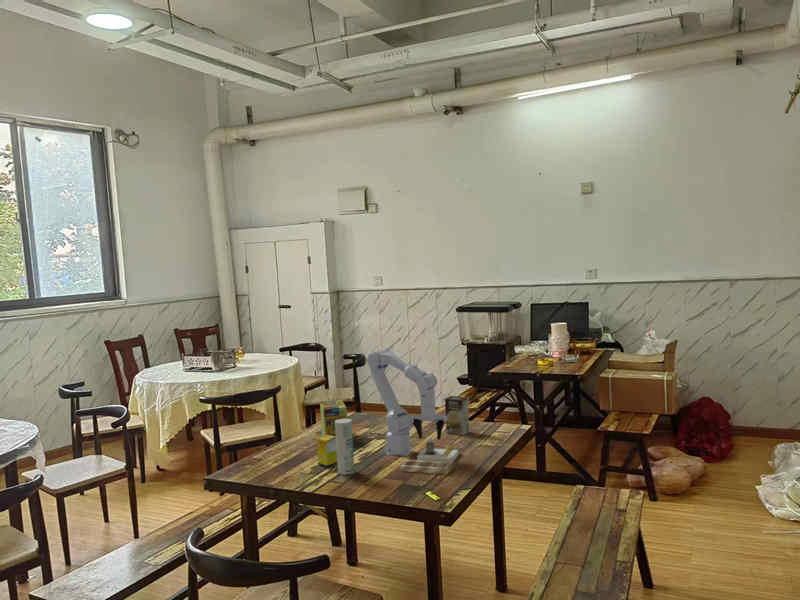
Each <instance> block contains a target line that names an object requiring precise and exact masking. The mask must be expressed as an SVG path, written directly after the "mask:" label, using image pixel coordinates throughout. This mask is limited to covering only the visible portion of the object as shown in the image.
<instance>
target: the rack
mask: <svg viewBox="0 0 800 600" xmlns="http://www.w3.org/2000/svg"><path fill="white" fill-rule="evenodd" d="M451 469H452V464H451V462H435V461H419V460H417V459H406V460H404V462H403V463H402V464H400V472H410V473H421V474H422V473H424V474H437V475H439V474H440V475H448V473H449V472H450V471H451Z"/></svg>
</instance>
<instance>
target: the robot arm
mask: <svg viewBox="0 0 800 600" xmlns="http://www.w3.org/2000/svg"><path fill="white" fill-rule="evenodd" d="M366 363H367V364H368V368H369V371H370V375H371V377H372V379H373V382H374V384H375V386H376V388H377V391H378V393H379V396H380V397H381V400H382V402H383V404H384V406H385V408H386V410H387V414H386V417H385V419H386V423H387V428H388V430H389V431H388V432H387V433H386V437H385V442H386V445H385V446H386V455H388V456H389V455H391V456H406V457H407V456H409V455H410V454H411V453H412V452H413V451H414V448H411V437H410V436H411V435H410V431H411V427H413V426H414V428H415V430H416V432H417V435H418V439H423V427H422V426H423V421H425V422H426V421H432V422H435V426H436V433H437V434H436V435H437V436H436V437H437V440H440V439H441V438H442V431H443V428H444V426H445V424H446V421H447V416H446V415H442V414H436V413H437V412H436V393H435V387H436V386H437V383H438V379H437V377H436V375H434V374H433V373H427V372H426V371H425V370H424V371H423V370H422V369H420V368H418V365H416V364H407V363H406V362H405V361H404V360H402V359H401V358H400V357H399V356H397V355H396V354H395V351H393V350H390V349H389V348H387V347H385V348H383V349H379V350H375V351H374V350H373V351H369V353H368V356H367V358H366ZM389 366H392V367H393V368H396V369H398V370H399V371H400V372H403V373H404V374H403V375H404V377H405V378H406V379H408V380H409V381H410V382H412V383H414V384H416V388H418V391H419V392H418V393H419V395H420V412H421V414H411V415H410V414H409V413H408V411H407V409H406V408H403V407H401V405H400V403H399V401H398V399H397V397H396V395H395V393H394V390H393V388H392V386H391V384H390V381H389V380H388V376H387V375H386V370H387V369H388V367H389Z"/></svg>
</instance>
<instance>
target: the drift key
mask: <svg viewBox="0 0 800 600" xmlns="http://www.w3.org/2000/svg"><path fill="white" fill-rule="evenodd" d="M445 449H447V451H446V452H445V454H444V455H443V456H442V457H447V456H448V455H449V454H450V452H451V451H452V450H456V444H455V443H446V444H445Z"/></svg>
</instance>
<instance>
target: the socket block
mask: <svg viewBox="0 0 800 600" xmlns="http://www.w3.org/2000/svg"><path fill="white" fill-rule="evenodd" d="M446 451H447V449H446V448H434V452H435V455H427V453H426V447H424V449H422V450H421V452H419V454H418V455H417V456H416V460H419V461H435V462H451V465H453V463H454V461H455V460H456V459H457V457H458V456H459V449H455V450H452V451H451V452H450V454H449V455H448V456H447V457H442V456H443V455H444V454H445V452H446Z"/></svg>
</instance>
